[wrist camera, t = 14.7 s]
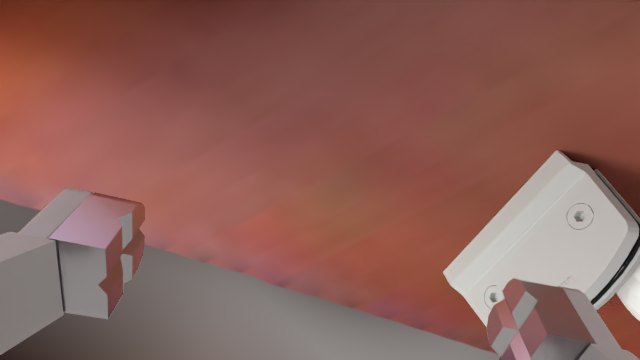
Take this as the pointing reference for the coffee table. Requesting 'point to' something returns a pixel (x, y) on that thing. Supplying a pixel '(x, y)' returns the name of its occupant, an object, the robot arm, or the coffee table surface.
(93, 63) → the coffee table surface
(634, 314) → the cat figurine
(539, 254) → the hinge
